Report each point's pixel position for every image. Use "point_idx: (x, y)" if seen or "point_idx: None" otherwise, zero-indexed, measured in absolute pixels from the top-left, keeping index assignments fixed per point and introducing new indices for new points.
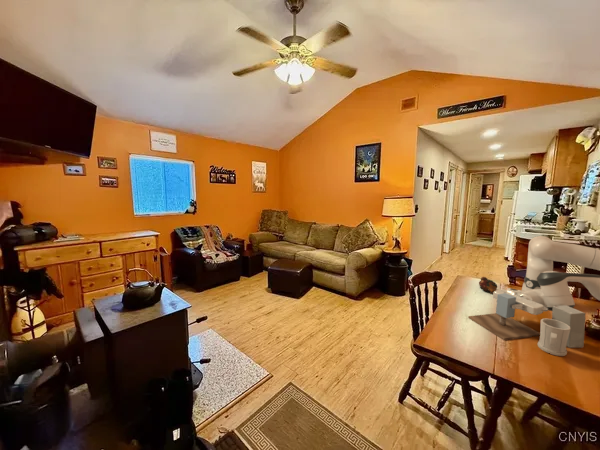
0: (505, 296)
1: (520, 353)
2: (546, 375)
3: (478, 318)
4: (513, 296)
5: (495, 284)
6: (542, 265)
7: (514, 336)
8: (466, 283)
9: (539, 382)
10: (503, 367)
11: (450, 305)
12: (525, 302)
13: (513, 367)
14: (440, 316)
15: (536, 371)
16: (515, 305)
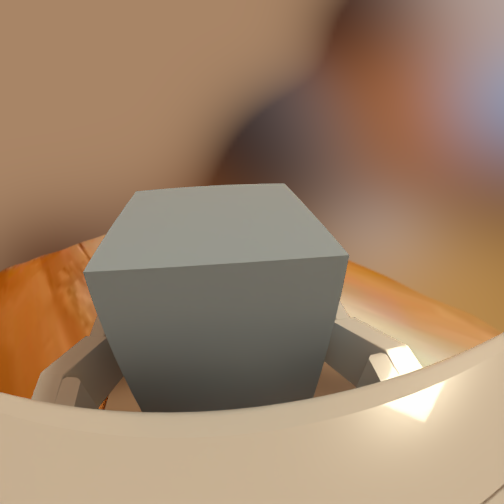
0: (197, 197)
1: (58, 331)
2: (2, 306)
3: (330, 369)
4: (136, 261)
5: None
6: None
7: (111, 397)
8: None
9: (13, 280)
10: (70, 261)
11: (467, 333)
12: (8, 467)
13: (55, 275)
14: (348, 268)
15: (18, 301)
16: (94, 328)
